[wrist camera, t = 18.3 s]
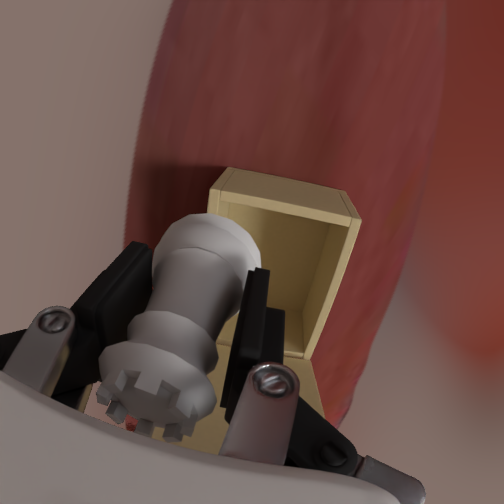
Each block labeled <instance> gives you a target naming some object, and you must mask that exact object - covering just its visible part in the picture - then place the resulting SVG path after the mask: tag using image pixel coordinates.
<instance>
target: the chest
mask: <svg viewBox="0 0 504 504" xmlns="http://www.w3.org/2000/svg"><path fill="white" fill-rule="evenodd" d="M207 213H212V214H215V215H218V216H221V217H224V218H227V219H231V220H233V221H234V222H235V223H237V224H238V225H239V226H240V227H242V228H243V229H244V230H245V231H247V232H248V233H249V234H250V235H251V237H252V239H253V241H254V242H255V244H256V246H257V248H258V250H259V251H260V257H261V268H263V269H268V270H270V279H269V288H268V297H267V306H266V307H271V308H277V309H282V310H285V336H284V356H285V357H292V358H298V359H305V360H310V358H311V355H312V353H313V351H314V348H315V346H316V344H317V341H318V339H319V336H320V334H321V332H322V329H323V327H324V324H325V322H326V319H327V317H328V314H329V312H330V309H331V307H332V304H333V301H334V299H335V296H336V293H337V291H338V288H339V285H340V283H341V280H342V277H343V274H344V272H345V269H346V266H347V263H348V260H349V257H350V255H351V252H352V249H353V246H354V243H355V240H356V237H357V234H358V231H359V227H360V224H361V221H362V220H361V218H360V216H359V214H358V213H357V211H356V209H355V207H354V206H353V204H352V202H351V201H350V199H349V197H348V196H347V194H346V192H345V191H342V190H338V189H334V188H329V187H325V186H321V185H316V184H312V183H307V182H303V181H298V180H293V179H289V178H284V177H279V176H274V175H269V174H264V173H258V172H253V171H248V170H242V169H237V168H231V167H227V169H226V170H225V171H224V172H223V174H222V175H221V176H220V177H219V178H218V180H217V181H216V182H215V183H214V184H213V186H212V187H211V188H210V190H209V198H208V206H207ZM238 314H239V313H237V314H236V315H235V316H233V317H232V318H230V319H229V320H228V321H227V322H225V324H224V326H223V328H222V330H221V332H220V334H219V336H218V338H217V340H216V343H217V344H221V345H226V346H231V345H232V341H233V336H234V332H235V327H236V323H237V318H238Z"/></svg>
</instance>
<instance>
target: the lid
mask: <svg viewBox="0 0 504 504" xmlns="http://www.w3.org/2000/svg"><path fill="white" fill-rule="evenodd" d="M216 347H217V351H218V356H219V359H218V362H217V365H216V367H215V370H213V371H212V372H211V373H209V374H208V375H207V377H208V379H209V380H210V382H211V384H212V385H213V388H214V391H215V395H216V398H217V403H216V405H215V408H214V410H213V412H212V413H211V414H209V415H208V416H206V417H204V418H203V419H201V420H199V421H197V422H196V424H195V428H194V431H193V434H192V436H191V437H189V436H186V435H183V438H182V441H181V442H170V444H174V445H177V446H181V447H185V448H189V449H193V450H197V451H201V452H206V453H210V454H215V455H218V453H219V451H220V448H221V446H222V443H223V440H224V438H225V435H226V433H227V430H228V427H229V424H228V423H227V422H226V421H225V419H224V418H225V417H224V416H225V411H226V408H222V407H220V402H221V397H222V391H223V386H224V381H225V376H226V371H227V366H228V360H229V355H230V350H231V347H229V346H224V345H219V344H216ZM283 365H286V366H288V367H289V368H290V369H292V370H293V371H294V372H295V373H296V375H297V376H298V378H299V381H300V391H299V396H300V397H301V398H303V399H304V400H305V401H306V402H307V403H308V404H309V405H310V406H311V407H312V408H313V409H314V410H316V411H317V412H318V413H319V414H320V415H321V416H322V417H323V418H324V419H325V416H324V412H323V408H322V404H321V400H320V396H319V392H318V388H317V384H316V380H315V376H314V372H313V368H312V364H311V361H309V360H302V359H296V358H289V357H284V361H283ZM164 430H165V428H160V427H155V428H154V431H153V434H152V437H151V438H153V439H156V440H159V441H163V442H166V441H165V440H164V439H163V438H162V436H163V433H164ZM166 443H167V442H166Z"/></svg>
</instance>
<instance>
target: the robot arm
mask: <svg viewBox="0 0 504 504" xmlns="http://www.w3.org/2000/svg"><path fill="white" fill-rule="evenodd" d="M269 279H270V270H268V269H263V268H258V267H255V270H254V271H252V270H248V274H247V278H246V283H245V287H244V292H243V296H242V301H241V305H240V309H239V314H238V318H237V323H236V327H235V332H234V336H233V341H232V345H231V350H230V355H229V360H228V366H227V371H226V376H225V381H224V386H223V391H222V397H221V402H220V407H222V408H226V411H225V416H224V417H225V418H224V419H225V421H226V422H227V423H228V424H229V427H228V430H227V433H226V435H225V438H224V440H223V443H222V446H221V448H220V451H219V453H218V455H215V454H210V453H206V452H201V451H197V450H193V449H189V448H185V447H181V446H177V445H174V444H170V443H166V442H163V441H159V440H156V439H153V438H150V437H146V436H143V435H140V434H137V433H134V432H131V431H128V430H125V429H123V428H119V427H117V426H114V425H111V424H109V423H106V422H104V421H101V420H99V419H96V418H94V417H91V416H89V415H86V414H84V410H85V407H86V404H87V402H88V399H89V396H90V393H91V390H92V386H93V383H96V382H97V381H100V382H102V379H101V375H100V369H99V356H100V355H101V354H102V352H103V351H104V349H105V348H106V347H108V346H111V345H114V344H117V343H121V342H124V341H128V340H127V329H128V325H129V324H130V322H131V321H132V320H133V318H134V317H135V316H136V315H139V314H142V313H144V311H145V310H146V308H147V305H148V302H149V299H150V297H151V294H152V249H149V248H148V245H147V244H144V243H140V242H135V241H132V242H131V243H130V244H129V245H128V246H127V247H126V248H125V249H124V250H123V251H122V253H121V254H120V255H119V256H118V257H117V258H116V259H115V260H114V262H112V263H111V264H110V266H109V267H108V268H107V269H106V270H104V271H103V272H102V273H101V274H100V275H99V276H98V277H97V278H96V279H95V280H94V281H93V283H92V284H91V285H90V286H89V287H88V288H87V289H86V290H85V292H84V293H83V294H82V295H81V296H80V297H79V299H78V300H77V301H76V302H75V303H74V305H73V306H72V307H71V308H70V309H68V308H66V307H63V306H52V307H48V308H45V309H44V310H42V311H40V312H39V313H38V314H37V316H36V317H35V318H34V320H33V321H32V323H31V324H30V326H29V327H28V329H24V330H20V331H16V332H12V333H8V334H3V335H0V504H423V503H424V501H425V495H426V493H425V488H424V486H423V485H422V483H421V482H420V481H419V480H417V479H416V478H414V477H412V476H409V475H407V474H405V473H403V472H401V471H399V470H396V469H394V468H392V467H390V466H388V465H386V464H384V463H382V462H380V461H378V460H376V459H374V458H372V457H370V456H368V455H367V456H366V457H362V456H360V455H359V454H357V451H356V449H355V447H354V445H353V444H352V443H351V442H350V441H349V440H348V439H347V438H346V437H345V436H344V435H342V434H341V433H340V432H339V431H338V430H337V429H336V428H334V427H333V426H332V425H331V424H330V423H329V422H328V421H327V420H326V419H324V418H323V417H322V416H321V415H320V414H319V413H318V412H317V411H316V410H314V409H313V408H312V407H311V406H310V405H309V404H308V403H307V402H306V401H305V400H304V399H303V398H301V397H300V396H299V391H300V381H299V378H298V376H297V375H296V373H295V372H294V371H293V370H292V369H290V368H289V367H288V366H286V365H283V361H284V336H285V310H282V309H277V308H271V307H266V306H267V297H268V288H269Z"/></svg>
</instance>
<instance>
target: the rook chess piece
mask: <svg viewBox="0 0 504 504" xmlns="http://www.w3.org/2000/svg"><path fill="white" fill-rule="evenodd" d="M255 267H258V268H261V257H260V251H259V250H258V248H257V246H256V244H255V242H254V241H253V239H252V237H251V235H250V234H249V233H248V232H247V231H245V230H244V229H243V228H242V227H240V226H239V225H238V224H237V223H235V222H234V221H233V220H231V219H227V218H224V217H221V216H218V215H215V214H212V213H205V214H190V215H188V216H186V217H184V218H182V219H180V220H178V221H176V222H174V223H172V224H171V226H170V227H169V228H168V230H167V231H166V232H165V234H164V235H163V236H162V238H161V241H160V242H159V244H158V245H157V246H156V248H155V251H154V256H153V262H152V276H153V280H152V284H153V287H154V289H153V291H152V294H151V297H150V299H149V302H148V305H147V308H146V310H145V311H144V313H142V314H139V315H136V316H135V317H134V318H133V320H132V321H131V322H130V324H129V325H128V329H127V340H128V341H124V342H121V343H117V344H114V345H111V346H108V347H106V348H105V349H104V351H103V352H102V354H101V355H100V356H99V369H100V375H101V379H102V383H101V385H100V386H99V388H98V390H97V392H96V395H97V402H98V403H101V404H103V405H106V406H108V404H109V402H110V400H111V403H110V405H109V407H108V409H107V411H106V414H107V415H108V416H109V417H110V418H111V419H112V420H113V421H115V422H116V423H117V424H121V423H123V422H124V420H125V417H126V415H127V414H128V415H130V416H132V417H133V418H135V419H137V420H139V421H138V423H137V426H136V428H135V431H134V433H137V434H140V435H143V436H146V437H150V438H151V437H152V434H153V431H154V428H155V427H160V428H165V430H164V433H163V436H162V438H163V439H164V440H165V441H166V442H167V443H170V442H181V441H182V438H183V435H186V436H189V437H191V436H192V434H193V431H194V428H195V424H196V422H197V421H199V420H201V419H203V418H204V417H206V416H208V415H209V414H211V413H212V412H213V410H214V408H215V405H216V403H217V398H216V395H215V391H214V388H213V385H212V384H211V382H210V380H209V379H208V377H207V375H208V374H209V373H211V372H212V371H213V370H215V367H216V365H217V362H218V359H219V356H218V351H217V347H216V340H217V338H218V336H219V334H220V332H221V330H222V328H223V326H224V324H225V322H227V321H228V320H229V319H230V318H232V317H233V316H235V315H236V314H237V313H239V309H240V305H241V301H242V296H243V292H244V287H245V283H246V278H247V274H248V270H252V271H254V270H255Z"/></svg>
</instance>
